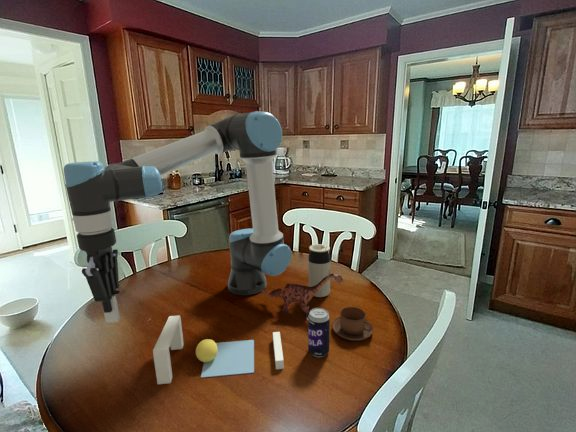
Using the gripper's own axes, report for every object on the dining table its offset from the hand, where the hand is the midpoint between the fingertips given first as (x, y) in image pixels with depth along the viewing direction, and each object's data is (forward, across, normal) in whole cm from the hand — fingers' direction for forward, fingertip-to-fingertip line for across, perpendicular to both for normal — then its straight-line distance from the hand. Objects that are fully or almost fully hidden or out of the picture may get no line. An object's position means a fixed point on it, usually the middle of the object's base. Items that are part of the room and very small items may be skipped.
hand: (112, 320), depth 77 cm
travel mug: (+15, -32, +59) cm, 68 cm away
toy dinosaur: (+14, -20, +49) cm, 55 cm away
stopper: (+14, 0, +41) cm, 43 cm away
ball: (+11, 0, +22) cm, 24 cm away
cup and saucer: (+15, -7, +64) cm, 66 cm away
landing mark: (+14, 0, +28) cm, 31 cm away
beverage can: (+14, +1, +52) cm, 54 cm away
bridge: (+14, 0, +13) cm, 18 cm away
